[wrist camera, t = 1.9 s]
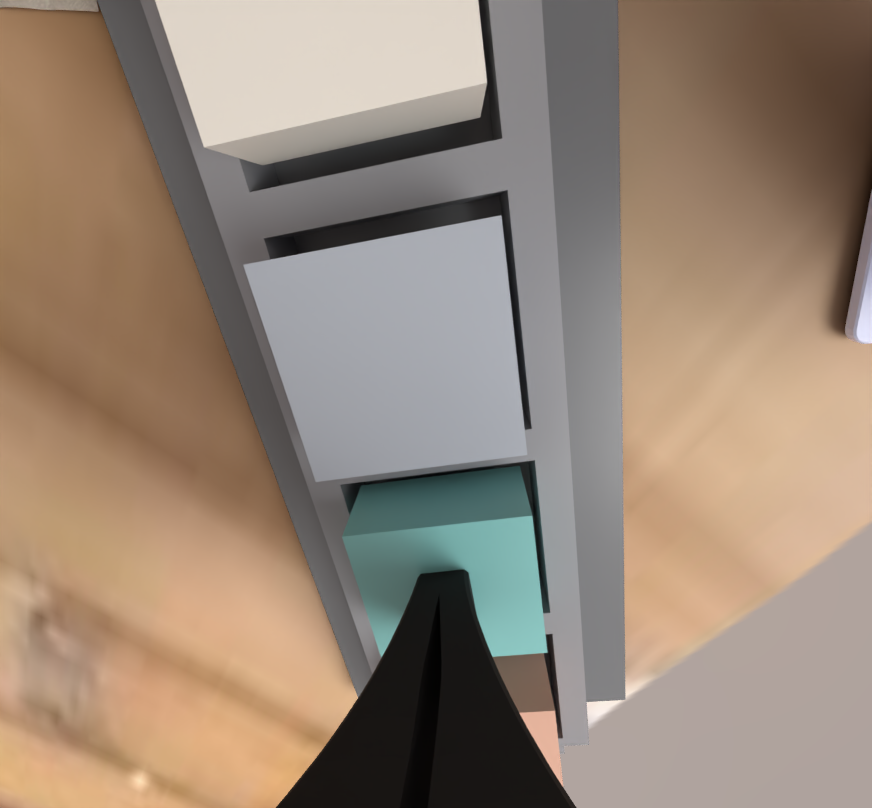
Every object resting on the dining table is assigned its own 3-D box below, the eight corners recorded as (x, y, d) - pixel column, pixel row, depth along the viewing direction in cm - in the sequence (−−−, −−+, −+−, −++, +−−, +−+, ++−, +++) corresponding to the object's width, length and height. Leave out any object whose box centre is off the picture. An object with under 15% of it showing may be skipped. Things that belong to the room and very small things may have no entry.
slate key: (491, 217, 10) (501, 214, 8) (514, 411, 12) (527, 455, 10) (288, 256, 10) (242, 264, 8) (341, 435, 12) (315, 482, 10)
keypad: (595, -240, 9) (662, -466, 6) (616, 673, 20) (643, 751, 17) (93, -87, 10) (-51, -210, 7) (369, 690, 21) (355, 764, 18)
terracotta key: (541, 639, 15) (555, 710, 13) (551, 727, 17) (565, 802, 15) (404, 650, 16) (395, 720, 13) (428, 733, 18) (424, 807, 15)
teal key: (519, 465, 13) (532, 515, 11) (533, 588, 15) (547, 652, 12) (361, 485, 13) (342, 536, 11) (394, 601, 15) (383, 664, 13)
